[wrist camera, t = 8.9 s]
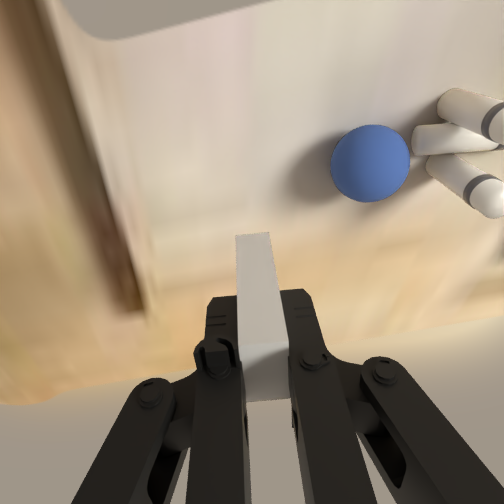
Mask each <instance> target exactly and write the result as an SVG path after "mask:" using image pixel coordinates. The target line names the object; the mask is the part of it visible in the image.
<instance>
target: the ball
mask: <svg viewBox="0 0 504 504" xmlns="http://www.w3.org/2000/svg"><path fill="white" fill-rule="evenodd" d="M409 167H410V154H409V150H408V147H407V145H406V143H405V141H404V140H403V138H402V137H401V136H400V135H399V134H398V133H397V132H395V131H394V130H392V129H390V128H388V127H385V126H382V125H365V126H361V127H358V128H356V129H354V130H352V131H350V132H349V133H347V134H346V135H345V136H344V137H343V138H342V139H341V140H340V141H339V143H338V144H337V146H336V147H335V149H334V152H333V154H332V158H331V175H332V178H333V181H334V183H335V185H336V186H337V188H338V189H339V190H340V191H341V192H342V193H343V194H344V195H345V196H347V197H349V198H350V199H353V200H356V201H359V202H375V201H379V200H382V199H385V198H387V197H389V196H390V195H392V194H393V193H394V192H396V191H397V190H398V189H399V188H400V186H401V185H402V184H403V182H404V181H405V179H406V177H407V175H408V171H409Z"/></svg>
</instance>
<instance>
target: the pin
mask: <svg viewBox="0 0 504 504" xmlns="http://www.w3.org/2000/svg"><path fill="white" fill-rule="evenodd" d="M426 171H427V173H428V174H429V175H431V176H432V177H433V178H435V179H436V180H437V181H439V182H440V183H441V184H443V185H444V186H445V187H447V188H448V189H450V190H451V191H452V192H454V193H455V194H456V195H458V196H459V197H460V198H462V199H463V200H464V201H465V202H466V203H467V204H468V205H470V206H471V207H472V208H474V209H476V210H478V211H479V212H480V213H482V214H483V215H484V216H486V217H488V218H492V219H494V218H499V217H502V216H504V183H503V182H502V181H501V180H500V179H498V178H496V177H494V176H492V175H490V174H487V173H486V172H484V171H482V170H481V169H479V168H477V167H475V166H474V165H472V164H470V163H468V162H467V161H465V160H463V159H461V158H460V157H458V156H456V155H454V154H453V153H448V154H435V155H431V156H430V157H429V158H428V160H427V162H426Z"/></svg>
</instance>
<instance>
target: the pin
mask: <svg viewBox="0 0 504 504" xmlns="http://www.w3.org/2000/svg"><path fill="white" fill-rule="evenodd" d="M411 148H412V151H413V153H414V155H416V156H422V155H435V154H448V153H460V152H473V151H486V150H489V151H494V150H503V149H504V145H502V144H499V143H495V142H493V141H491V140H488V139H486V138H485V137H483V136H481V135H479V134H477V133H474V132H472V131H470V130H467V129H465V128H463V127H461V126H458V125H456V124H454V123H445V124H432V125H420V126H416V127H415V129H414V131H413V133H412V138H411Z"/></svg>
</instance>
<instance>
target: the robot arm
mask: <svg viewBox="0 0 504 504" xmlns="http://www.w3.org/2000/svg"><path fill="white" fill-rule="evenodd" d="M236 272H237V295H235V296H224V297H213V298H212V300H211V302H210V303H209V305H208V306H207V314H206V327H205V337H204V339H203V340H202V341H200V343H199V344H198V345H197V346H196V347H195V350H194V353H193V354H194V359H195V363H196V367H197V370H196V371H195V372H193V373H192V374H191V375H189V376H188V377H185V378H184V379H181V380H178V381H176V382H174V383H170V382H168V381H167V380H166V379H162V378H151V379H148V380H145V381H143V382H141V383H140V384H139V385H137V386H136V387H135V388H134V389H133V391H132V392H131V393H130V395H129V397H128V399H127V401H126V402H125V404H124V406H123V408H122V410H121V412H120V413H119V415H118V418H117V419H116V421H115V423H114V425H113V426H112V428H111V430H110V432H109V434H108V436H107V438H106V439H105V442H104V443H103V445H102V447H101V449H100V451H99V453H98V454H97V457H96V458H95V460H94V462H93V464H92V466H91V468H90V469H89V471H88V473H87V475H86V477H85V479H84V481H83V482H82V484H81V486H80V488H79V490H78V492H77V494H76V496H75V497H74V499H73V501H72V503H71V504H170V502H171V499H172V496H173V493H174V490H175V486H176V484H177V480H178V478H179V475H180V472H181V469H182V466H183V462H184V460H185V457H186V454H187V450H188V448H189V447H191V450H190V461H189V471H188V482H187V492H186V504H252V503H251V481H250V459H249V439H248V417H247V410H246V402H254V401H266V400H277V399H288V398H291V403H292V428H294V432H295V438H296V445H297V451H298V458H299V464H300V471H301V477H302V484H303V490H304V496H305V503H306V504H377V501H376V497H375V494H374V491H373V487H372V484H371V481H370V478H369V474H368V471H367V468H366V465H365V461H364V458H363V455H362V451H361V448H360V445H359V442H358V438H357V435H358V436H359V438H360V440H361V442H362V444H363V445H364V447H365V449H366V451H367V452H368V454H369V456H370V458H371V459H372V461H373V463H374V465H375V466H376V468H377V470H378V472H379V473H380V475H381V477H382V479H383V480H384V482H385V484H386V486H387V487H388V489H389V491H390V493H391V494H392V496H393V498H394V500H395V501H396V503H397V504H504V488H503V487H502V485H501V484H500V483H499V482H498V480H497V479H496V478H495V477H494V476H493V474H492V473H491V472H490V471H489V470H488V468H487V467H486V466H485V465H484V464H483V462H482V461H481V460H480V459H479V457H478V456H477V455H476V454H475V453H474V451H473V450H472V449H471V448H470V447H469V445H468V444H467V443H466V442H465V441H464V439H463V438H462V437H461V436H460V435H459V433H458V432H457V431H456V430H455V428H454V427H453V426H452V425H451V424H450V422H449V421H448V420H447V419H446V418H445V416H444V415H443V414H442V413H441V412H440V410H439V409H438V408H437V407H436V405H435V404H434V403H433V402H432V401H431V400H430V398H429V397H428V396H427V395H426V393H425V392H424V391H423V390H422V389H421V387H420V386H419V385H418V384H417V383H416V381H415V380H414V379H413V378H412V376H411V375H410V374H409V373H408V372H407V370H406V369H405V368H404V367H403V366H402V365H401V364H399V363H398V362H397V361H395V360H392V359H390V358H387V357H381V356H379V357H372V358H370V359H368V360H366V361H365V362H364V364H363V365H359V364H353V363H348V362H344V361H341V360H339V359H337V358H336V357H334V356H333V355H332V354H331V353H330V352H329V351H328V350H327V348H326V346H325V343H324V340H323V336H322V333H321V329H320V326H319V323H318V319H317V316H316V313H315V309H314V306H313V302H312V299H311V296H310V295H309V294H308V293H307V292H306V291H305V290H304V289H292V290H281V291H279V286H278V280H277V275H276V269H275V264H274V258H273V253H272V247H271V242H270V236H269V232H267V233H256V234H245V235H236ZM356 433H357V435H356Z"/></svg>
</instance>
